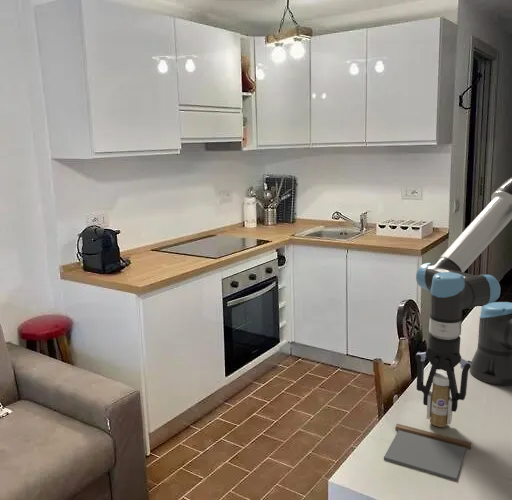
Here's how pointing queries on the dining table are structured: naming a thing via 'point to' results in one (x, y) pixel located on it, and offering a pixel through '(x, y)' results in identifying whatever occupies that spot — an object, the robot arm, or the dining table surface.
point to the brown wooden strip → (434, 436)
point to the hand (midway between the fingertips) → (439, 418)
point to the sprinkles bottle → (440, 399)
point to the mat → (426, 454)
